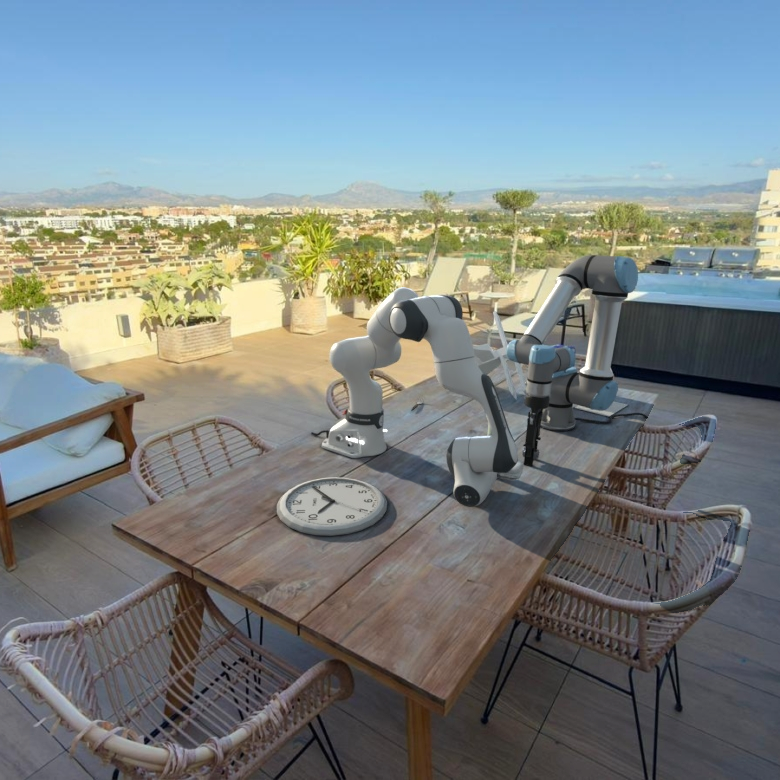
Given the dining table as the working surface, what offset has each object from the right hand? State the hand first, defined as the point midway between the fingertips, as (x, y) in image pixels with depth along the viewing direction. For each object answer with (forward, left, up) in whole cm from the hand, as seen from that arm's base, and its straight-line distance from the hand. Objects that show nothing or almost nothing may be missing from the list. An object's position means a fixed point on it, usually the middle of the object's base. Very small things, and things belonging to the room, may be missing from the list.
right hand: (529, 461), depth 172 cm
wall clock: (+58, +37, 0) cm, 69 cm away
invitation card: (-38, -62, 0) cm, 73 cm away
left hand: (+13, +10, +6) cm, 17 cm away
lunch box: (-21, -85, 0) cm, 87 cm away
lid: (0, 0, +4) cm, 4 cm away
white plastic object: (+13, -74, 0) cm, 75 cm away
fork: (+41, -49, 0) cm, 64 cm away
